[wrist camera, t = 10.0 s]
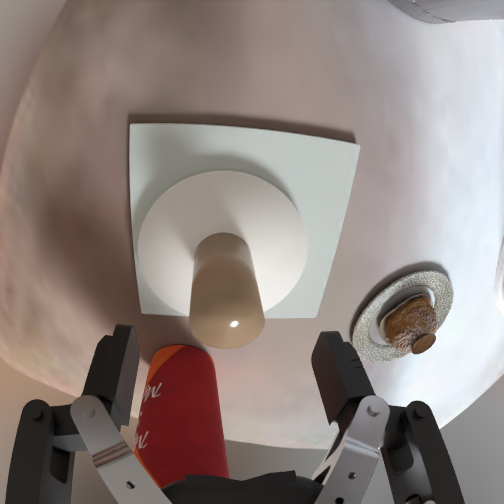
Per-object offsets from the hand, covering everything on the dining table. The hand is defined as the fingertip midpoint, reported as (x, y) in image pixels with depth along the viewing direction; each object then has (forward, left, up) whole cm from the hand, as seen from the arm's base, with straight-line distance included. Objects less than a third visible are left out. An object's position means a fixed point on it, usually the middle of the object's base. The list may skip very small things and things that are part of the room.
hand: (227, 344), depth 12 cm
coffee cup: (+13, -3, -10) cm, 17 cm away
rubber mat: (-1, +1, -9) cm, 9 cm away
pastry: (+8, +18, -10) cm, 22 cm away
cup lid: (0, 0, -9) cm, 9 cm away
